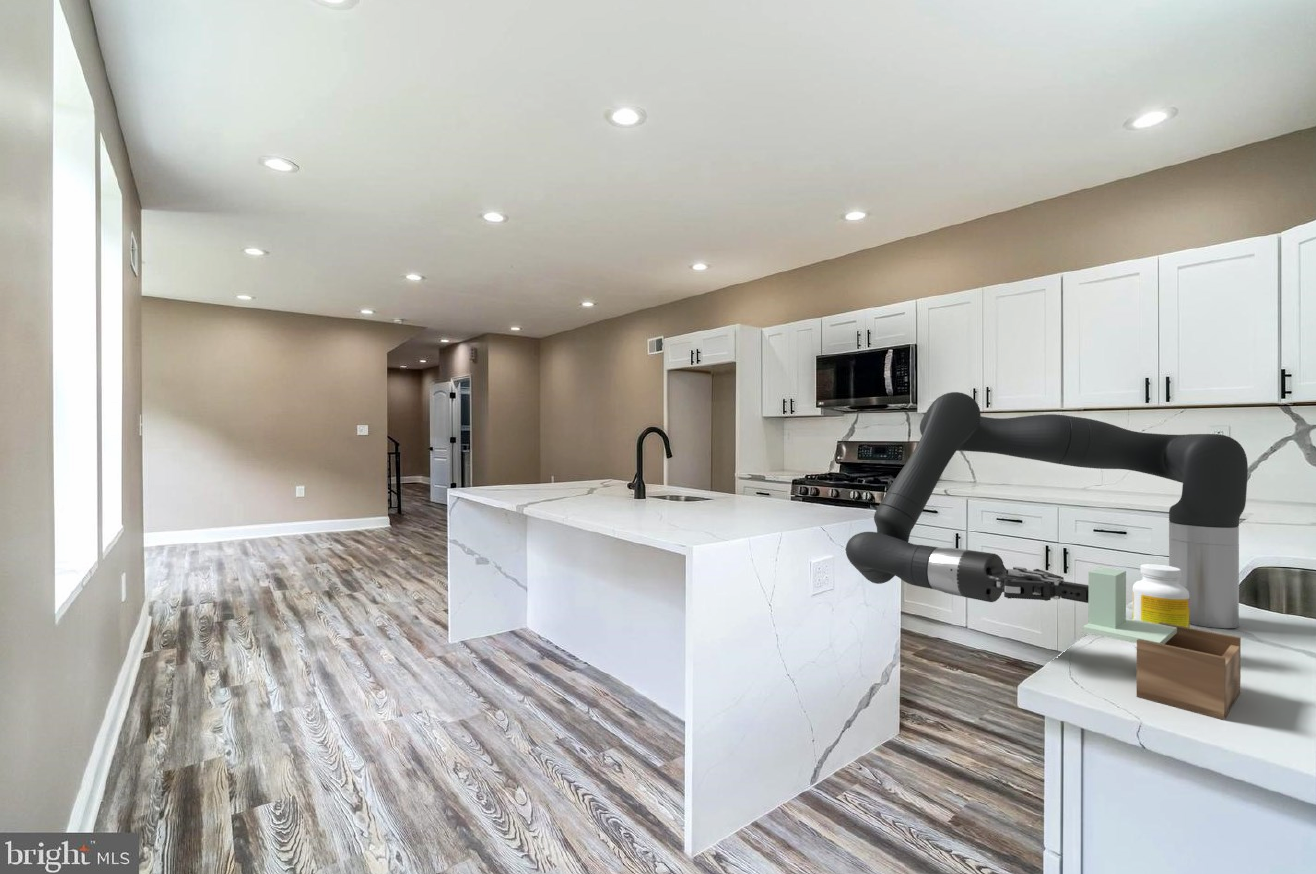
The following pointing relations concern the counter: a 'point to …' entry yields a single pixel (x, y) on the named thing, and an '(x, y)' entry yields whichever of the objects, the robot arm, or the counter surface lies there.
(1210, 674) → the walnut box
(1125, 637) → the sage lid
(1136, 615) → the supplement bottle
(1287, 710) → the counter surface
